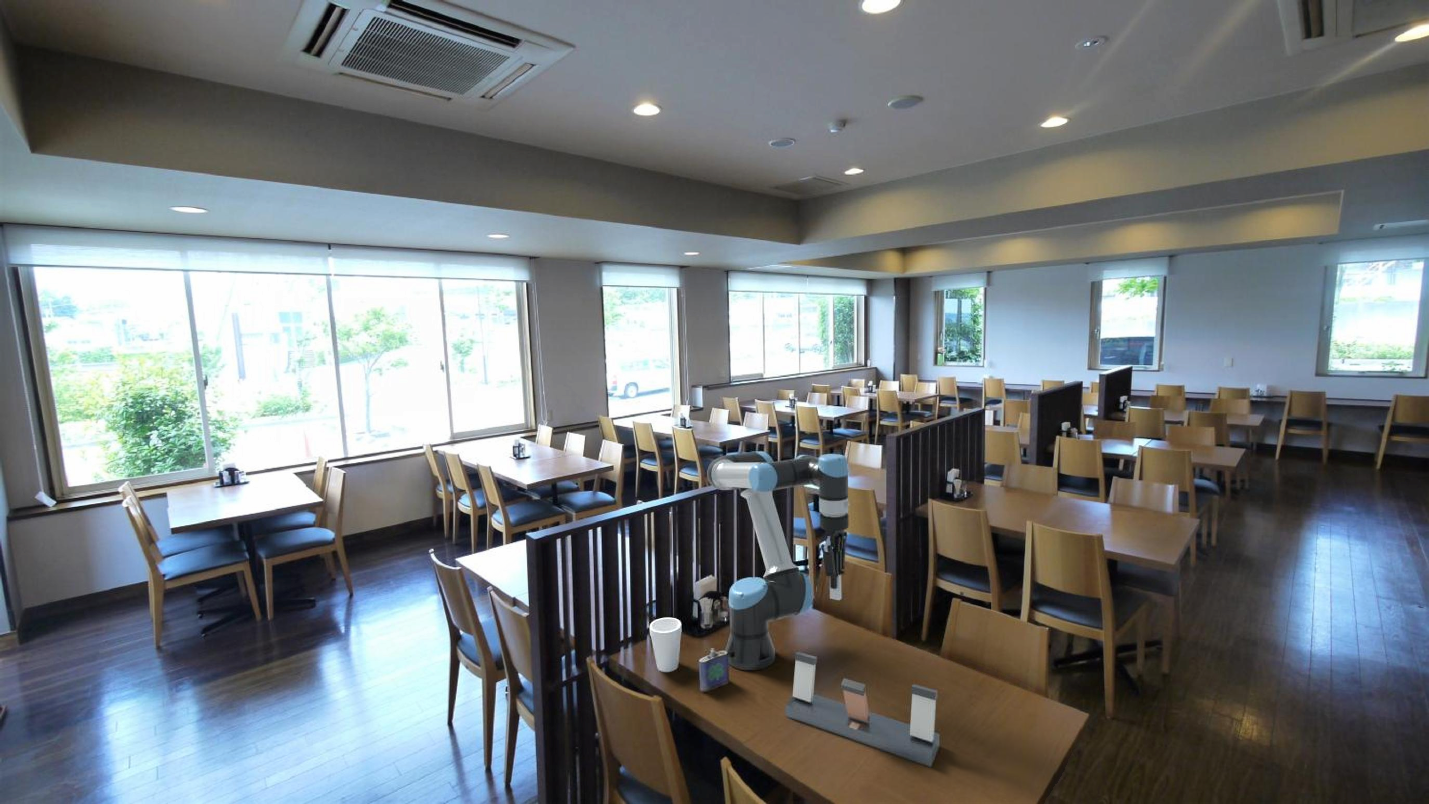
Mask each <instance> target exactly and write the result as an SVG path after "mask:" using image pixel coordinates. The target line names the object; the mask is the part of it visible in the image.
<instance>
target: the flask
mask: <svg viewBox="0 0 1429 804" xmlns="http://www.w3.org/2000/svg"><path fill="white" fill-rule="evenodd" d="M708 651H710V653H709V654H708V655H706V656H704V657H702V658H699V660H698V665H699V666H698V667H699V668H698V669H699V671H698V672H699V690H700V692H702V693H704V692H705V693H707V692H710V691H712V690H715V689H717V688H718V687H721V686H725V685H728V684H729V682H730V673H729V671H730V670H729V669H730V668H729V667H730V666H729V665H730V664H729V662H728V652H727V651H726V650H719V651H716V650H715V649H714V647H713V648H710V649H709V650H708Z"/></svg>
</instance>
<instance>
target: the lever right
mask: <svg viewBox="0 0 1429 804" xmlns="http://www.w3.org/2000/svg"><path fill="white" fill-rule="evenodd" d="M910 693H911V707H910V709H911V712H910V723H909V724H910V735H912V736H915V737H918V738H921V739H924V740H928V741H931V742H933V740H934V732H935V725H936V723H935V722H936V710H937V709H936V705H937V699H938V690H936V689H932V688H930V687H926V686H923V685H919V684H915V683H913V684H912V685H911V691H910Z"/></svg>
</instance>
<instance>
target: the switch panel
mask: <svg viewBox="0 0 1429 804" xmlns="http://www.w3.org/2000/svg"><path fill="white" fill-rule="evenodd" d="M784 706H785V707H784V708H785V717H786V718H789V719H792V720H795V721H798V722H801V723H804V724H807V725H809V726H813V727H815V728H818V729H821V730H824V731H827V732H829V733H833V734H835V735H838V736H840V737H845V738H846V739H850V740H852V741H855V742H858V743H860V744H864V745H867V746H870V747H872V748H875V749H878V750H881V751H884V752H886V753H890V754H892V755H895V756H898V757H900V758H904V759H907V760H910V761H912V762H916V763H919V764H921V765H923V766H927V767H930V768H932V766H933V762H934V761H935V758H936V755H937V753H938V751H939V748H940V733H938V732H935V731H934V740H933V742H931V741H928V740H924V739H921V738H918V737H915V736H912V735H910V723H905V722H903V721H899V720H897V719H893V718H890V717H887V716H884V715H881V714H879V713H875V712H871V711H869V715H870V718H869V721H868V723H867V722H864V721H861V720H858V719H855V718H852V717H849V716H848V714H847V708H846V703H842V702H840V701H838V700H837V701H836V700H833V699H830V698H827V697H825V696H821V695H818V694H814V693H813V701H812V702H808V701H805V700H802V699H799V698H796V697H793V696H791V698H790V700H788V702H787V703H786V704H785V705H784Z"/></svg>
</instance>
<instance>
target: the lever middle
mask: <svg viewBox="0 0 1429 804" xmlns="http://www.w3.org/2000/svg"><path fill="white" fill-rule="evenodd" d="M840 687H841V690H842V691H843V697H844V702H845V703H844V704H846V708H847V714H848V716H849V717H852V718H855V719H858V720H861V721H864V722H867V723H868V721H869V718H870V715H869V712H870V710H869V706H868V698H867V693H866V691H867V685H866V684H864V683H862V682H858V681H855V680H851V679H847V678H843V679H842V681H841V682H840Z"/></svg>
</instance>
